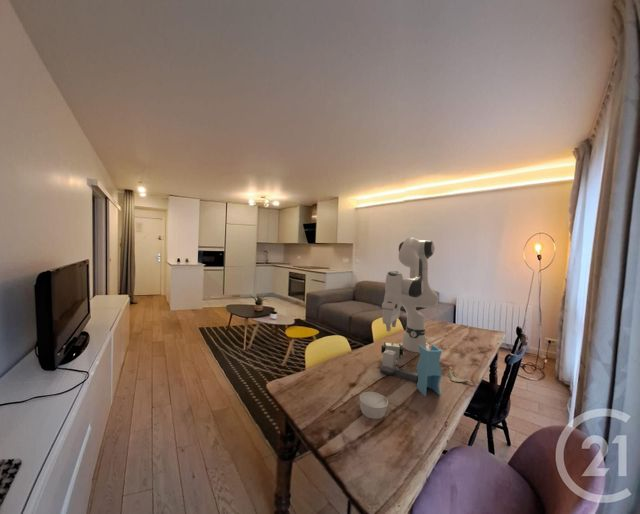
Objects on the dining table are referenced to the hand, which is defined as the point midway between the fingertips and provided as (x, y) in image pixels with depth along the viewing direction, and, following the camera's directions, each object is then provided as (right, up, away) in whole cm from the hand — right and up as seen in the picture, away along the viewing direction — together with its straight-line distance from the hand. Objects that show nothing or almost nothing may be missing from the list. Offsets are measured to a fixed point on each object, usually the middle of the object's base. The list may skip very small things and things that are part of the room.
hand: (391, 328), depth 140 cm
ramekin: (-16, -24, -34) cm, 45 cm away
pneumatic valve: (+3, -23, +12) cm, 26 cm away
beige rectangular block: (-1, -20, +1) cm, 20 cm away
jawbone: (+36, -26, +1) cm, 44 cm away
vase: (+13, -25, -16) cm, 32 cm away
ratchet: (+6, -24, -3) cm, 24 cm away
